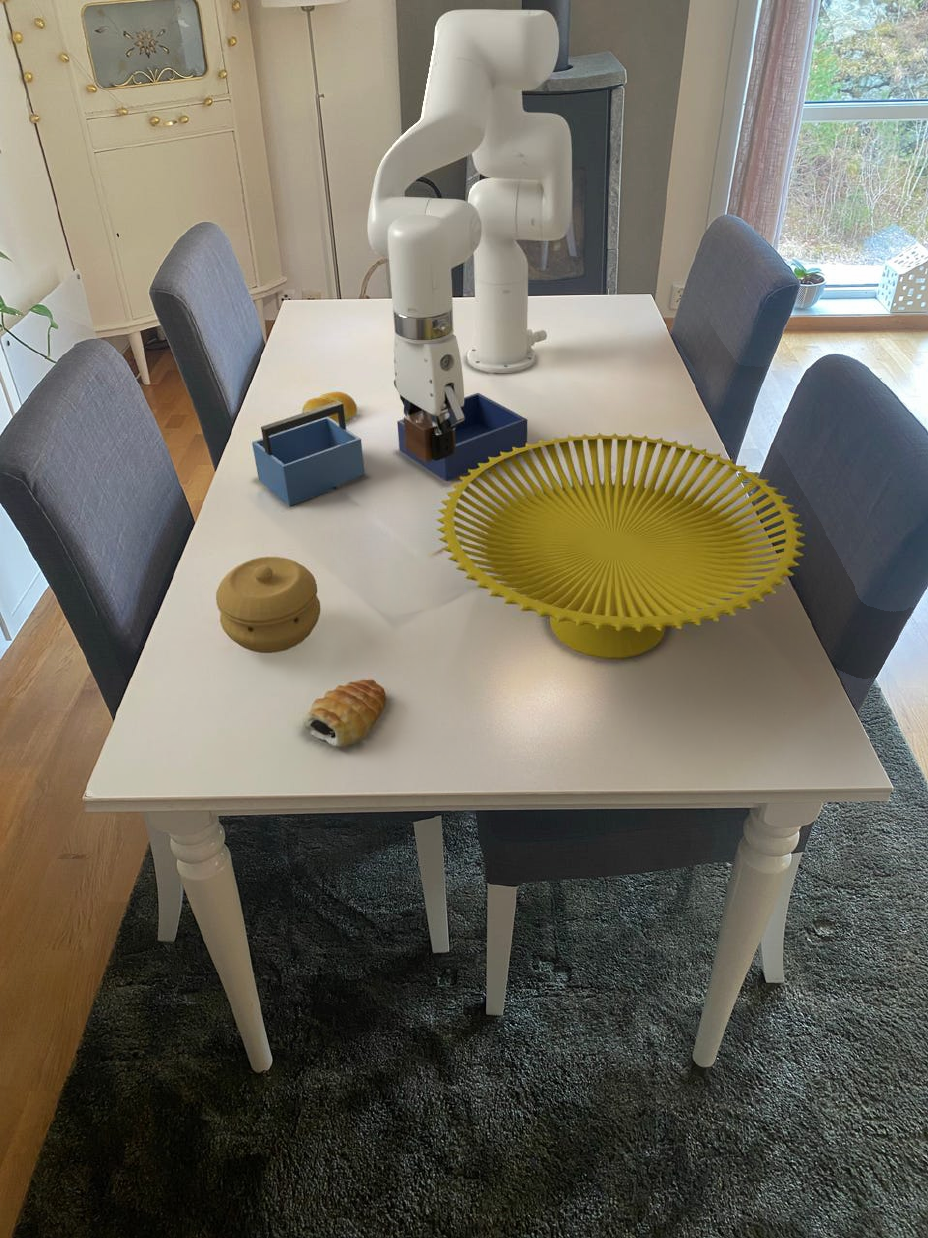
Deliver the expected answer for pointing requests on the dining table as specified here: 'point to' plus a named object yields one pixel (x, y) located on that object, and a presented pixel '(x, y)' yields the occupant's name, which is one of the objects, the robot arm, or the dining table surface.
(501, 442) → the lower bin
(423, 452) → the block
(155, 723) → the dining table surface
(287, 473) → the upper bin
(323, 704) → the pastry
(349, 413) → the bread roll
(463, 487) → the yellow fruit bowl
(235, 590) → the pot
